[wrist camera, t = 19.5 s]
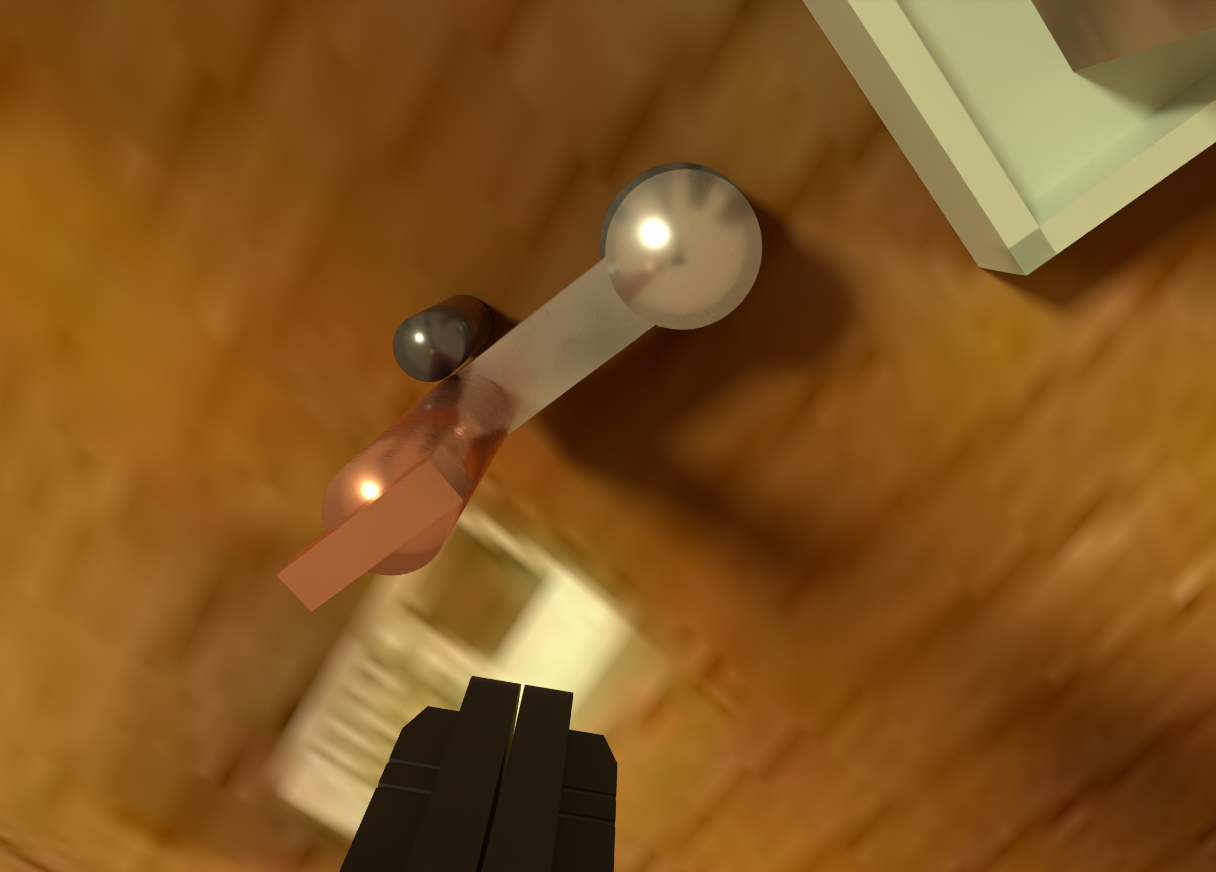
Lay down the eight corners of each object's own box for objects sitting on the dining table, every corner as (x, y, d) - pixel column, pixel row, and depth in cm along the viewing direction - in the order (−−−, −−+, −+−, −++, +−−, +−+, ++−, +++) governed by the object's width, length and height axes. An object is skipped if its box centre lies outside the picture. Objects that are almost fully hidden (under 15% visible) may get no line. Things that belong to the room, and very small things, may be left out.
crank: (696, 141, 23) (744, 85, 12) (778, 261, 24) (892, 308, 13) (396, 379, 25) (214, 509, 15) (480, 479, 26) (368, 672, 15)
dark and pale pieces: (326, 402, 28) (262, 443, 23) (672, 107, 25) (679, 83, 20) (436, 521, 29) (395, 583, 25) (779, 255, 26) (810, 266, 21)
